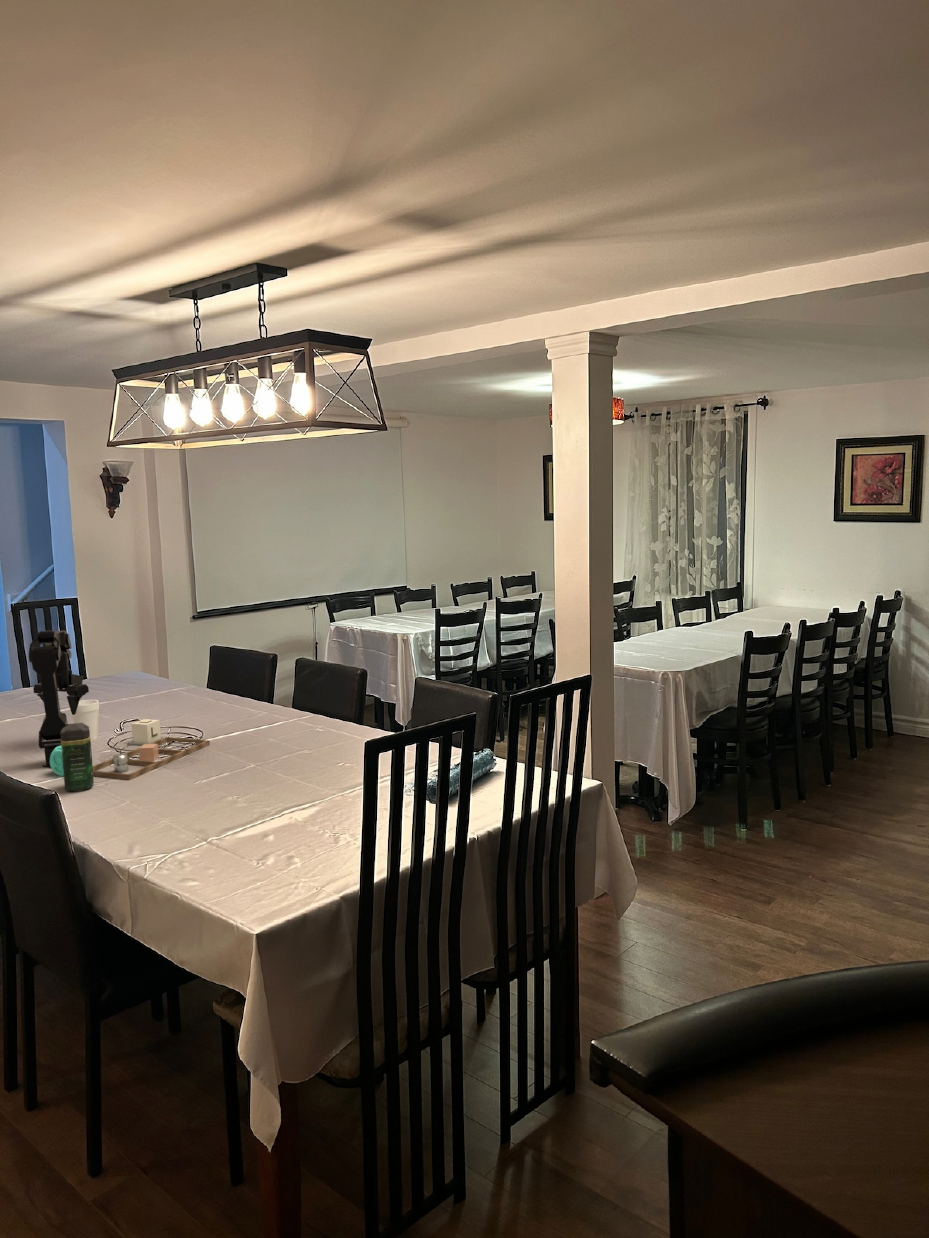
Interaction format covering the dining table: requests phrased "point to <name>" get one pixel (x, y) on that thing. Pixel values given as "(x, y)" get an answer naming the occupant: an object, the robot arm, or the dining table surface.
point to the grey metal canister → (120, 763)
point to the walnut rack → (149, 764)
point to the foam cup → (88, 716)
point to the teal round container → (57, 761)
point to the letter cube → (146, 731)
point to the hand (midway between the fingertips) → (63, 713)
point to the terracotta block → (149, 752)
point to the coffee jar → (77, 757)
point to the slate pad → (140, 743)
